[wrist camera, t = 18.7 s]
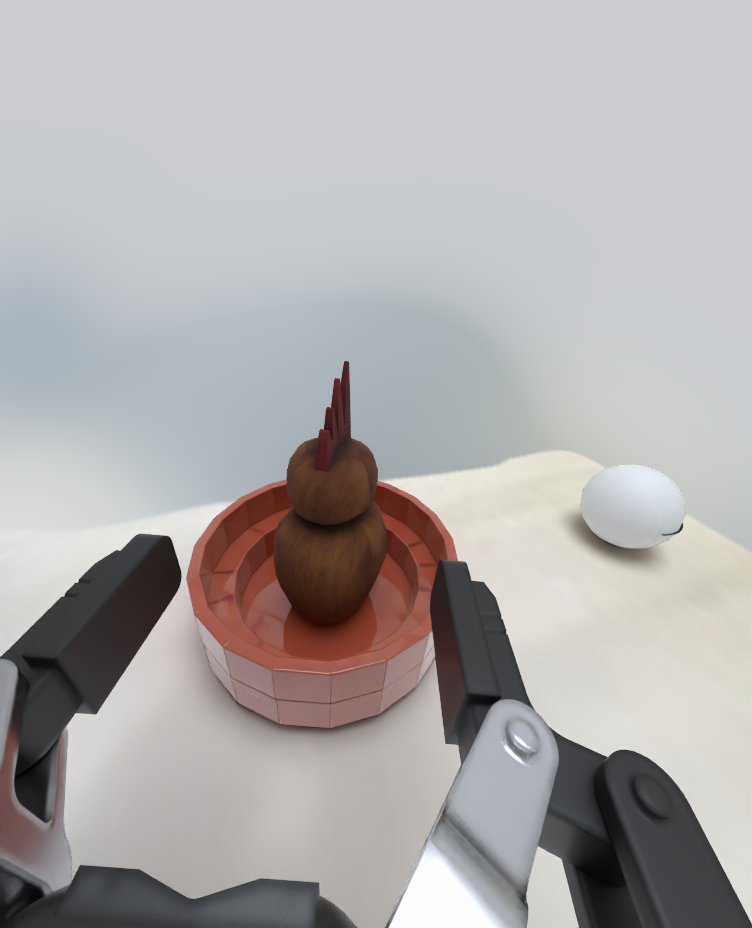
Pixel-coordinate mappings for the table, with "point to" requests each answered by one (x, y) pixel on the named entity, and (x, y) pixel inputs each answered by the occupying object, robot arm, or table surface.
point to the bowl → (309, 643)
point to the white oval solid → (633, 506)
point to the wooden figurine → (331, 520)
